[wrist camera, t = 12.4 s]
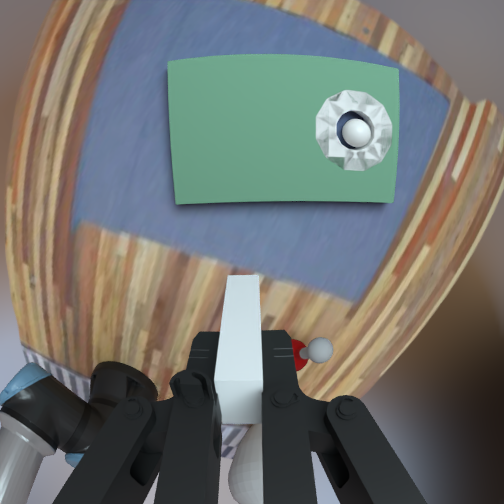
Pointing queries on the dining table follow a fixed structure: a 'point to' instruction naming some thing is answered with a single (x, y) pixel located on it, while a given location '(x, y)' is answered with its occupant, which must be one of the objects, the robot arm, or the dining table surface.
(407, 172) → the dining table surface
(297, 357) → the molecular model
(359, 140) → the ball
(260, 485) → the vase
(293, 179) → the putting mat
